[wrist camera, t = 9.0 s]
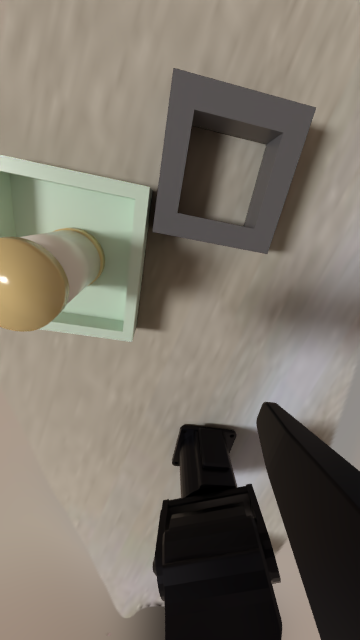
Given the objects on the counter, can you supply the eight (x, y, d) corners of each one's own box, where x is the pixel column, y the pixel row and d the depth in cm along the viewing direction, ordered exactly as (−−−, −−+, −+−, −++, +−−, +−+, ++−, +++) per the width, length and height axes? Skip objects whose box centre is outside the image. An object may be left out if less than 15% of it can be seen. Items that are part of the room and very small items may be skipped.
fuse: (103, 288, 18) (62, 337, 11) (48, 279, 18) (-32, 324, 11) (106, 233, 17) (59, 249, 10) (45, 222, 16) (-53, 229, 9)
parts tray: (136, 327, 21) (132, 341, 18) (18, 310, 20) (-2, 323, 17) (152, 190, 16) (149, 186, 14) (0, 158, 15) (-29, 148, 13)
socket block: (255, 248, 18) (267, 253, 16) (154, 229, 17) (152, 231, 15) (294, 123, 15) (316, 107, 13) (172, 91, 14) (173, 68, 12)
